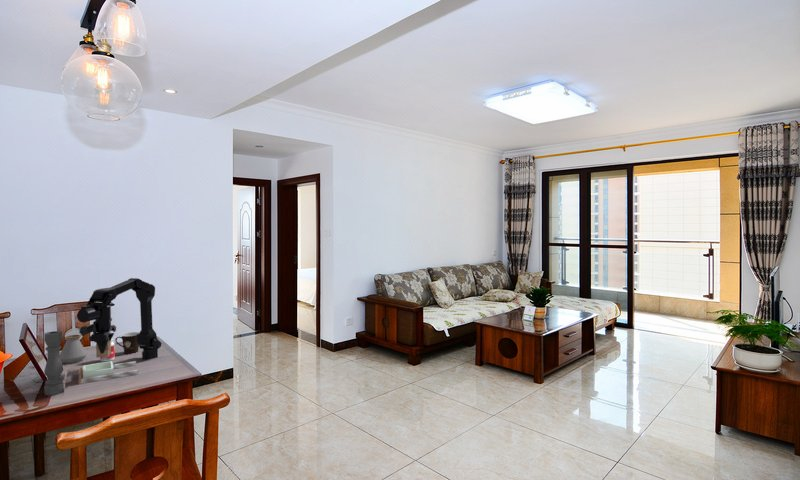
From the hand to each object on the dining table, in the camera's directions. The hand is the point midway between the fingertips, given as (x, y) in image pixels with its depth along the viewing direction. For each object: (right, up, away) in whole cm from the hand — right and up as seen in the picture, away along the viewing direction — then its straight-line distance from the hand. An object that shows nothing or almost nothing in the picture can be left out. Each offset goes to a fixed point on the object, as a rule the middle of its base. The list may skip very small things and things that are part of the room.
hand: (103, 351), depth 190 cm
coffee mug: (-15, -11, +41) cm, 45 cm away
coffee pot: (-34, -12, +30) cm, 47 cm away
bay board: (0, -12, +4) cm, 13 cm away
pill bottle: (-17, -12, +27) cm, 34 cm away
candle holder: (-10, -13, -15) cm, 22 cm away
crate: (-3, -11, +2) cm, 12 cm away
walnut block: (0, -2, 0) cm, 2 cm away
